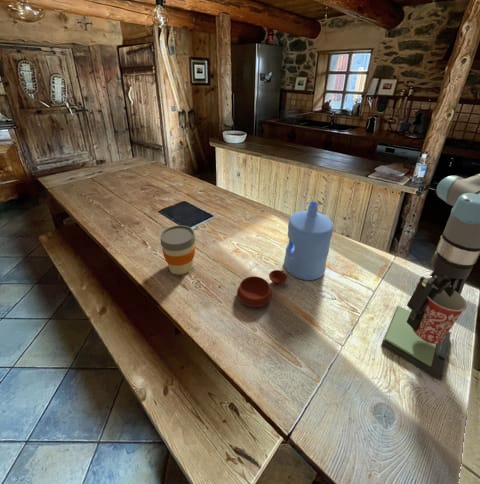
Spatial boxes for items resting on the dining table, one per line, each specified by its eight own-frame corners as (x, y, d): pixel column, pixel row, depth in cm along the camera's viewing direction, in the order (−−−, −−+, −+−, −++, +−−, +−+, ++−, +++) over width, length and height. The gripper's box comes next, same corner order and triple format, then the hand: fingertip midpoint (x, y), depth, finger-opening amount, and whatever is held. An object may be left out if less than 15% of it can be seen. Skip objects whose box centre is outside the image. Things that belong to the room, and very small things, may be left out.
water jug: (329, 263, 106) (342, 201, 94) (316, 287, 94) (329, 220, 82) (293, 249, 114) (301, 190, 102) (277, 270, 102) (283, 206, 90)
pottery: (230, 293, 91) (230, 284, 89) (272, 269, 102) (273, 260, 100) (251, 317, 83) (252, 307, 81) (295, 288, 94) (296, 279, 92)
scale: (448, 337, 78) (451, 330, 77) (440, 380, 67) (444, 374, 66) (395, 310, 86) (398, 304, 85) (381, 345, 75) (383, 338, 74)
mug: (455, 349, 68) (476, 311, 62) (419, 347, 68) (437, 309, 63) (426, 308, 80) (442, 273, 74) (395, 307, 80) (408, 272, 74)
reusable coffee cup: (201, 271, 101) (199, 239, 94) (168, 282, 96) (164, 248, 89) (191, 252, 111) (189, 221, 104) (161, 261, 106) (156, 229, 99)
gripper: (469, 239, 69) (439, 302, 79) (407, 254, 63) (383, 320, 73) (502, 258, 63) (465, 323, 73) (436, 276, 57) (405, 344, 67)
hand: (424, 321), depth 73 cm, fingers closed on mug, 8 cm apart
